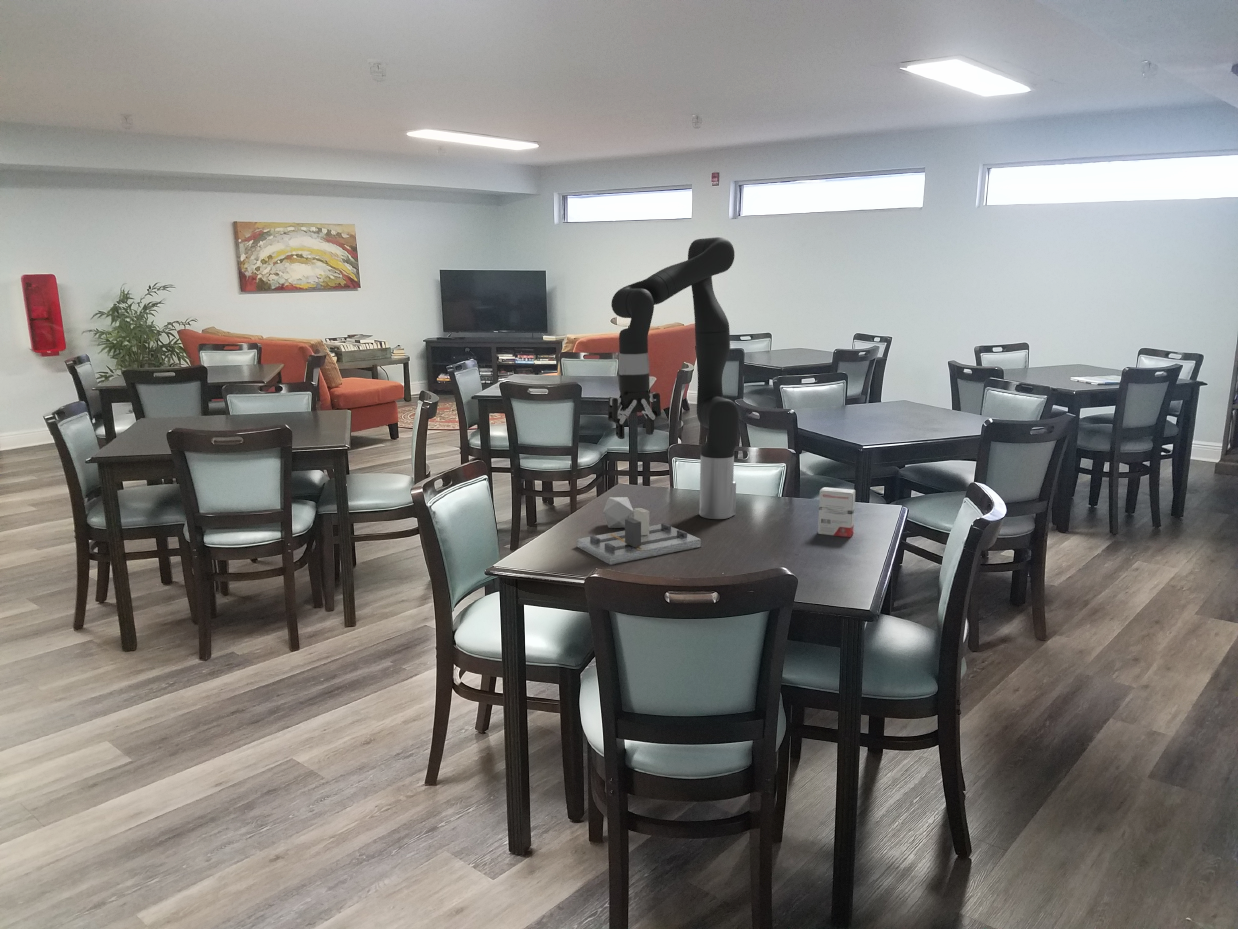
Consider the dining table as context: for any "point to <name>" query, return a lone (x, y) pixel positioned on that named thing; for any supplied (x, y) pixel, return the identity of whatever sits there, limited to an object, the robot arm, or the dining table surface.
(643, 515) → the block
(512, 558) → the dining table surface
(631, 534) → the fader near
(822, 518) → the ink box
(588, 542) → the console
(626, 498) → the die
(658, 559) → the dining table surface
